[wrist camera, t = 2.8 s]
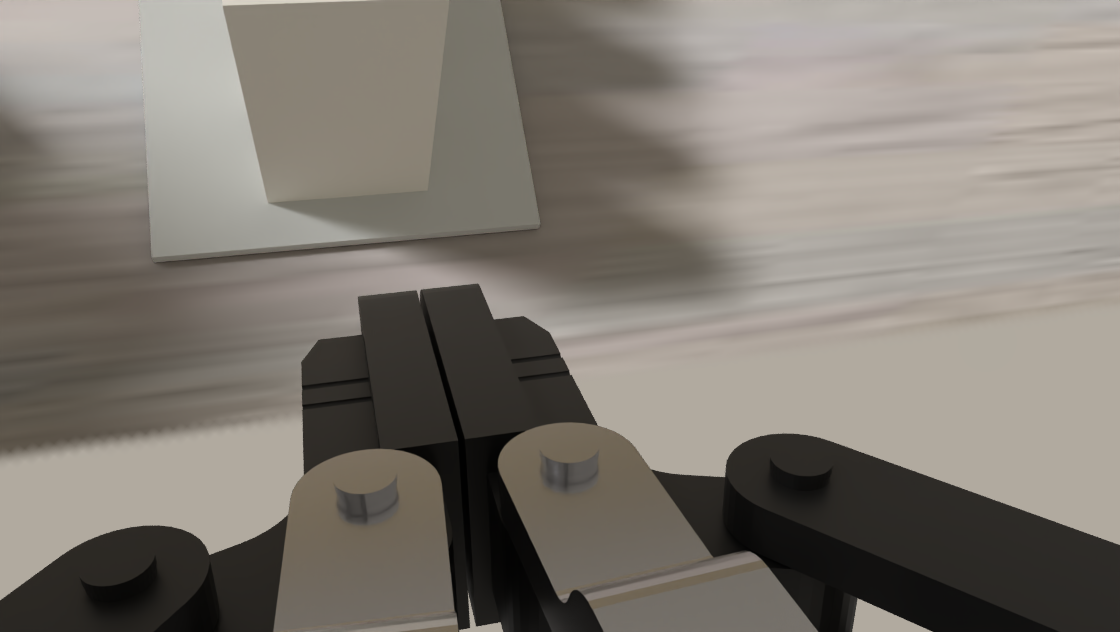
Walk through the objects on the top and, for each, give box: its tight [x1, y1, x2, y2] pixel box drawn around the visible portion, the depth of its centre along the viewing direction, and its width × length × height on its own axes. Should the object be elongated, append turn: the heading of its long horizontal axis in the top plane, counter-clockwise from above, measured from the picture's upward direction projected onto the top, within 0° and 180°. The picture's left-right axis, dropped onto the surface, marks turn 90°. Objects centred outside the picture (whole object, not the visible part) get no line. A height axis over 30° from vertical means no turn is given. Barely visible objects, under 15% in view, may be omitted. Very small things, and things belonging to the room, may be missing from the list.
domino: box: [222, 0, 449, 203], centre depth 27 cm, size 5×2×10 cm, turn 100°
